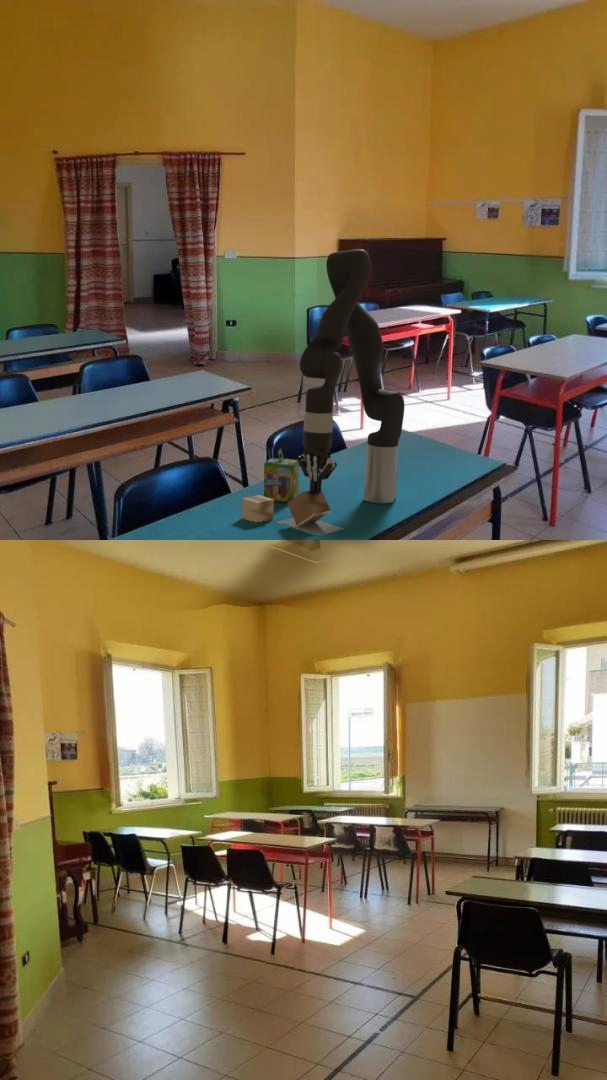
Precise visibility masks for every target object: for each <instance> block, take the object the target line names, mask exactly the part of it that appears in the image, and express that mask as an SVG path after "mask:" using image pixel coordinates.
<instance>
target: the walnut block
mask: <svg viewBox="0 0 607 1080" xmlns="http://www.w3.org/2000/svg"><path fill="white" fill-rule="evenodd" d="M286 503H287V506H288V509H289V510H290V513H291V515H292V518H294V520H295V523H296V525H297V527H299V526H303V525H307V524H311V523H316V522H317V521H321V520H322V519H323V518H325V517H326V516H327V515H329V514H330V513H331V512H332V510H331V507H330V506H329V503H328V500H327V499H326V497H325V494H324V493H323V490H322V489H321V492H320V494H318V495H313V494H311V491H310V490H307V491H302V492H300V493H298V496H297V497H295V498H294V499H292V500H291V501H290V502H286Z"/></svg>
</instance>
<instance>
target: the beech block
mask: <svg viewBox="0 0 607 1080" xmlns="http://www.w3.org/2000/svg"><path fill="white" fill-rule="evenodd" d="M274 502H275V501H274V499H270V498H267V497H264V495H260V494H257V495H253V496H248V497H243V498H242V514H241V515H242V518H241V519H243V520H246V521H250V522H252V521H254V522H253V523H255V522H260V523H263V522H262V521H265V522H268V521H273V520H274V505H275V503H274Z"/></svg>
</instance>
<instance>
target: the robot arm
mask: <svg viewBox="0 0 607 1080" xmlns="http://www.w3.org/2000/svg"><path fill="white" fill-rule="evenodd" d="M370 257H371V256H370V255H369V253H368V252H367V251H366V250H364V249H361V248H360V249H359V248H356V249H355V248H354V249H349V250H342V251H336V252H331V253H330V254H329V255H328V256H327V258H326V273H327V277H328V281H329V284H330V287H331V289H332V292H333V296H334V297H335V299H334V300H333V301H332V302H331V303H330V304H329V305H328V306H327V307H326V309H325V310H324V311H323V313H322V316H321V318H320V322H319V324H318V327H317V330H316V333H315V334H314V337H312V339H311V341H310V342H309V344H308V346H306V348H305V349H304V351H303V352H302V354H301V357H300V361H299V370H300V372H301V375H303V376H304V377H306V378H311V379H319V380H321V379H323V380H324V382H323V385H321V386H316V387H311V388H309V389H307V390H306V393H305V412H304V418H303V432H302V433H303V438H302V445H303V447H304V450H303V453H302V454H301V455H298V456H296V460H298V462H299V468H301V471H302V473H303V475H304V477H307V478H308V479H309V491H311V494H313V495H318V494H320V492H321V490H322V481H323V480H328V479H329V477H330V476H331V475H332V473H334V471H335V470H336V468H337V466H338V464H337V462H333V460H332V459H331V451H330V450H331V448H332V447H333V433H334V432H333V431H334V429H333V428H334V426H333V425H334V416H333V415H334V414H333V410H334V409H333V408H334V395H335V390H336V388H337V387H336V386H337V384H338V380H339V377H340V375H341V372H342V369H343V360H342V357H341V355H340V353H339V352H337V350H338V349H340V347H341V346H342V344H343V341H344V337H345V334H346V337H347V340H348V344H349V348H350V351H351V355H352V357H353V361H354V366H355V370H356V373H357V374H356V375H357V377H358V382H359V386H360V387H359V388H360V394H361V399H362V400H361V401H362V405H363V410H364V412H365V414H366V416H367V417H368V418H369V419H371V420H373V421H378V422H380V427H379V429H378V430H377V431H374V432H370V433H369V434H368V435H367V444H366V461H365V462H366V463H365V473H364V474H365V475H364V476H365V477H364V487H363V488H364V490H363V500H364V501H366V502H369V503H371V504H372V503H374V504H391V503H393V502H394V501H395V500H394V499H397V491H398V490H397V488H398V475H399V469H398V468H397V465H398V454H399V453H398V452H399V441H400V438H401V435H402V431H403V423H404V416H405V415H404V414H405V400H404V397H403V394H402V393H400V392H398V391H396V390H395V391H394V390H389V389H384V388H382V385H381V382H380V377H379V367H380V364H381V361H382V358H383V354H384V342H383V338H382V334H381V330H380V327H379V324H378V322H377V321H376V320H375V319H374V317H373V316H372V315H371V314H370V313H369V312H368V311H367V310H366V309H365V308H364V307H363V305H361V304H360V302H359V300H360V298H361V297H362V294H363V292H364V291H365V289H366V286H367V285H368V283H369V281H370V278H371V274H372V260H371V258H370Z"/></svg>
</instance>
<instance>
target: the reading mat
mask: <svg viewBox="0 0 607 1080" xmlns="http://www.w3.org/2000/svg"><path fill="white" fill-rule="evenodd" d="M276 522H277V523H276V524H278V523H279V524H278V525H281V524H282V523H285V524H289V525H291V526H292V527H293V528H292V529H294V528H295V529H294V530H296V528H298V529H299V530H305V531H307V532H310V533H313V534H314V533H315V534H323V535H326V534H330V533H334V532H338V531H341V530H345V528H343V527H340V526H336V525H334V524H331V523H329V522H325V521H322V520H319V521H317V522H316V523H311V524H307V525H303V526H299V527H297V525H296V523H295V520H294V518H293V517H290V518H287V519H283V520H282V519H281V520H278V521H276ZM299 530H298V531H299Z"/></svg>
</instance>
